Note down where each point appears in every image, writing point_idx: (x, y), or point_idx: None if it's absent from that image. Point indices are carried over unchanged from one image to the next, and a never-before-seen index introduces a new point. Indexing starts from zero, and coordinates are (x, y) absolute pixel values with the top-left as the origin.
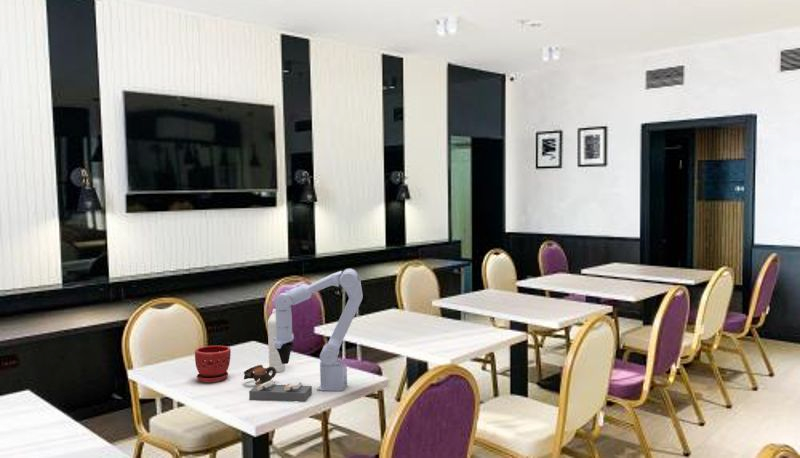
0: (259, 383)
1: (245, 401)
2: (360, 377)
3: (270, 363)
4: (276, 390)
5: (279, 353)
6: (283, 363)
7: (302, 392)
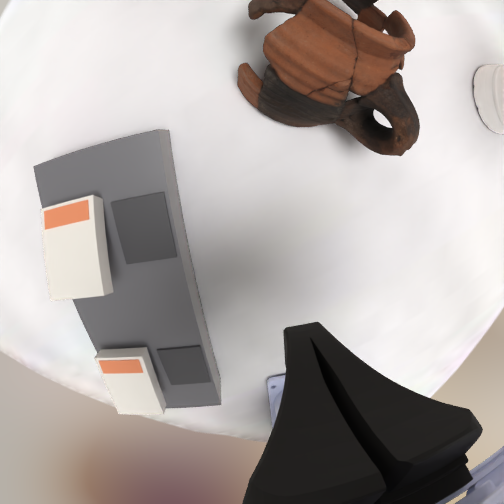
0: (250, 90)
1: (36, 158)
2: None
3: (501, 73)
4: (97, 303)
5: (278, 413)
6: (284, 342)
7: None
